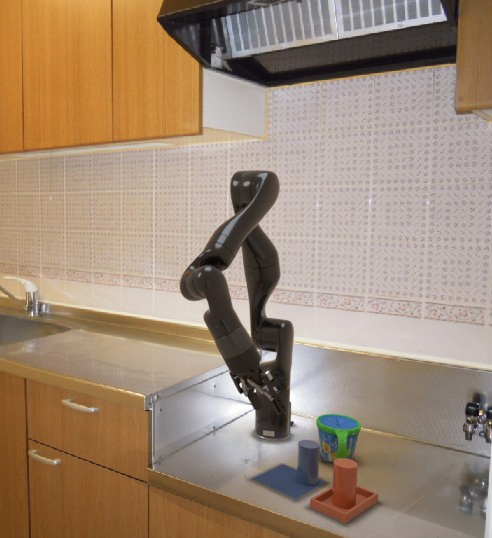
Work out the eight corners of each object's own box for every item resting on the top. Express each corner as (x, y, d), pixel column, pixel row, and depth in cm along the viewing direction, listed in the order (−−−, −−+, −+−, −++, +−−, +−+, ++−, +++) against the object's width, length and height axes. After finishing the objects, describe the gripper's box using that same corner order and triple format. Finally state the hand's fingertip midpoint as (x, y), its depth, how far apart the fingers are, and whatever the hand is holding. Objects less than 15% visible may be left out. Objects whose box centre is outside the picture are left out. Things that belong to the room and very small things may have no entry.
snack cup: (361, 476, 135) (363, 435, 134) (314, 470, 139) (316, 430, 138) (357, 450, 150) (358, 412, 149) (315, 445, 153) (316, 408, 152)
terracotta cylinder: (339, 495, 126) (341, 456, 125) (360, 503, 122) (362, 463, 121) (327, 502, 123) (329, 462, 122) (348, 511, 119) (350, 470, 118)
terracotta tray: (342, 488, 130) (343, 479, 130) (377, 502, 124) (378, 493, 123) (309, 508, 121) (310, 498, 121) (345, 524, 115) (346, 514, 115)
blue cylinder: (304, 474, 136) (305, 438, 135) (322, 481, 132) (323, 444, 131) (292, 480, 133) (293, 443, 132) (310, 488, 129) (312, 450, 128)
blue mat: (282, 465, 141) (282, 464, 141) (326, 483, 132) (326, 481, 132) (251, 479, 134) (252, 478, 134) (295, 500, 125) (295, 498, 125)
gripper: (268, 338, 121) (302, 404, 122) (231, 339, 134) (263, 398, 135) (242, 357, 118) (278, 424, 119) (207, 356, 131) (240, 416, 132)
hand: (270, 410), depth 127 cm, fingers open, 8 cm apart
